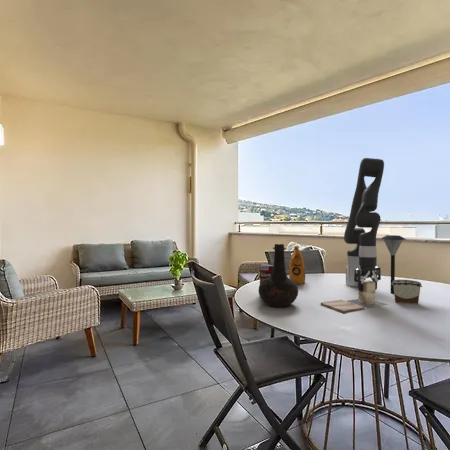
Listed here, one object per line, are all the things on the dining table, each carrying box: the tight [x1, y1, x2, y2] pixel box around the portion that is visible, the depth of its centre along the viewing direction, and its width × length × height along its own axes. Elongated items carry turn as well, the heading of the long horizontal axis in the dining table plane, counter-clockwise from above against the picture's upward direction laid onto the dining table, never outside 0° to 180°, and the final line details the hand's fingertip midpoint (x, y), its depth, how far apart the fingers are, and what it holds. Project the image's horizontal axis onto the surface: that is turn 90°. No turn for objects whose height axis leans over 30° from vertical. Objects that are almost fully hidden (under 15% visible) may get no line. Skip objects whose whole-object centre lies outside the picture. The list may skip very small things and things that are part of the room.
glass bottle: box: [258, 243, 299, 308], centre depth 149 cm, size 18×18×28 cm
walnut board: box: [320, 299, 366, 314], centre depth 144 cm, size 14×12×1 cm
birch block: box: [358, 279, 376, 305], centre depth 150 cm, size 5×5×10 cm
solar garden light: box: [380, 234, 407, 294], centre depth 168 cm, size 12×12×30 cm
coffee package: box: [288, 245, 306, 285], centre depth 197 cm, size 10×12×22 cm
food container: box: [392, 279, 423, 305], centre depth 151 cm, size 12×6×10 cm, turn 71°
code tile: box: [346, 298, 389, 309], centre depth 150 cm, size 13×13×1 cm
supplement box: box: [259, 263, 274, 284], centre depth 164 cm, size 9×5×16 cm, turn 77°
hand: (367, 290), depth 149 cm, fingers open, 8 cm apart
